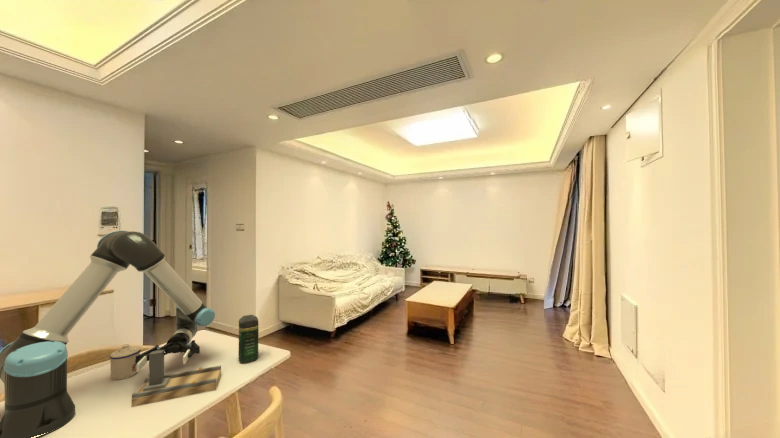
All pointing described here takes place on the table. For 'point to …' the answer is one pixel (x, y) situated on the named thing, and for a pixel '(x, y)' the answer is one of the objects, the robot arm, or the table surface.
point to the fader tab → (156, 371)
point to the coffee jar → (248, 338)
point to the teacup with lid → (124, 362)
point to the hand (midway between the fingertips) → (161, 364)
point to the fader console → (180, 385)
